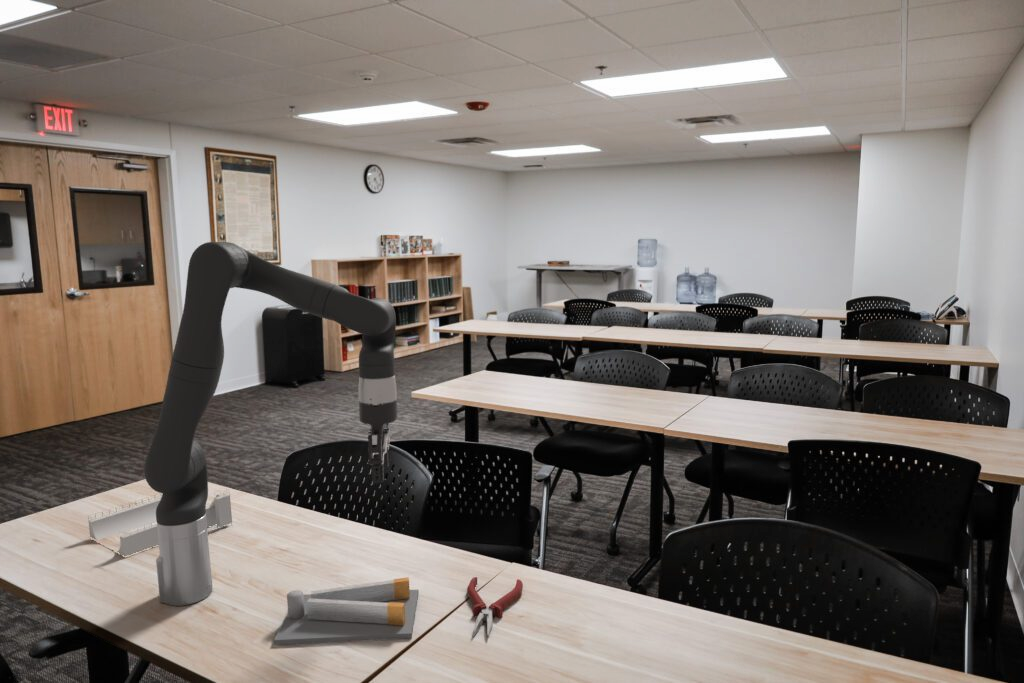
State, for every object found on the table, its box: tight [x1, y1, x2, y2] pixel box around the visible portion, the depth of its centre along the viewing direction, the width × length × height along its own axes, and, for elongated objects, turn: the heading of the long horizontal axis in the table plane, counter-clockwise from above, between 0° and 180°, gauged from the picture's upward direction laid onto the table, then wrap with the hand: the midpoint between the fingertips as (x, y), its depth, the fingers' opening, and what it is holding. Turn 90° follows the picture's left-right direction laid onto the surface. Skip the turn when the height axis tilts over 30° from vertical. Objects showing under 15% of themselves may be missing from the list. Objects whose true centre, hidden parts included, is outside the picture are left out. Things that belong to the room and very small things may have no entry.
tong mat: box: [273, 589, 419, 646], centre depth 131 cm, size 25×16×6 cm, turn 93°
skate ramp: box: [87, 489, 233, 556], centre depth 173 cm, size 25×23×10 cm
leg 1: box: [310, 577, 410, 602], centre depth 134 cm, size 19×1×4 cm, turn 104°
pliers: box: [466, 576, 524, 637], centre depth 133 cm, size 12×20×3 cm, turn 172°
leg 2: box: [307, 598, 406, 626], centre depth 128 cm, size 19×1×4 cm, turn 82°
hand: (380, 475), depth 137 cm, fingers open, 8 cm apart
